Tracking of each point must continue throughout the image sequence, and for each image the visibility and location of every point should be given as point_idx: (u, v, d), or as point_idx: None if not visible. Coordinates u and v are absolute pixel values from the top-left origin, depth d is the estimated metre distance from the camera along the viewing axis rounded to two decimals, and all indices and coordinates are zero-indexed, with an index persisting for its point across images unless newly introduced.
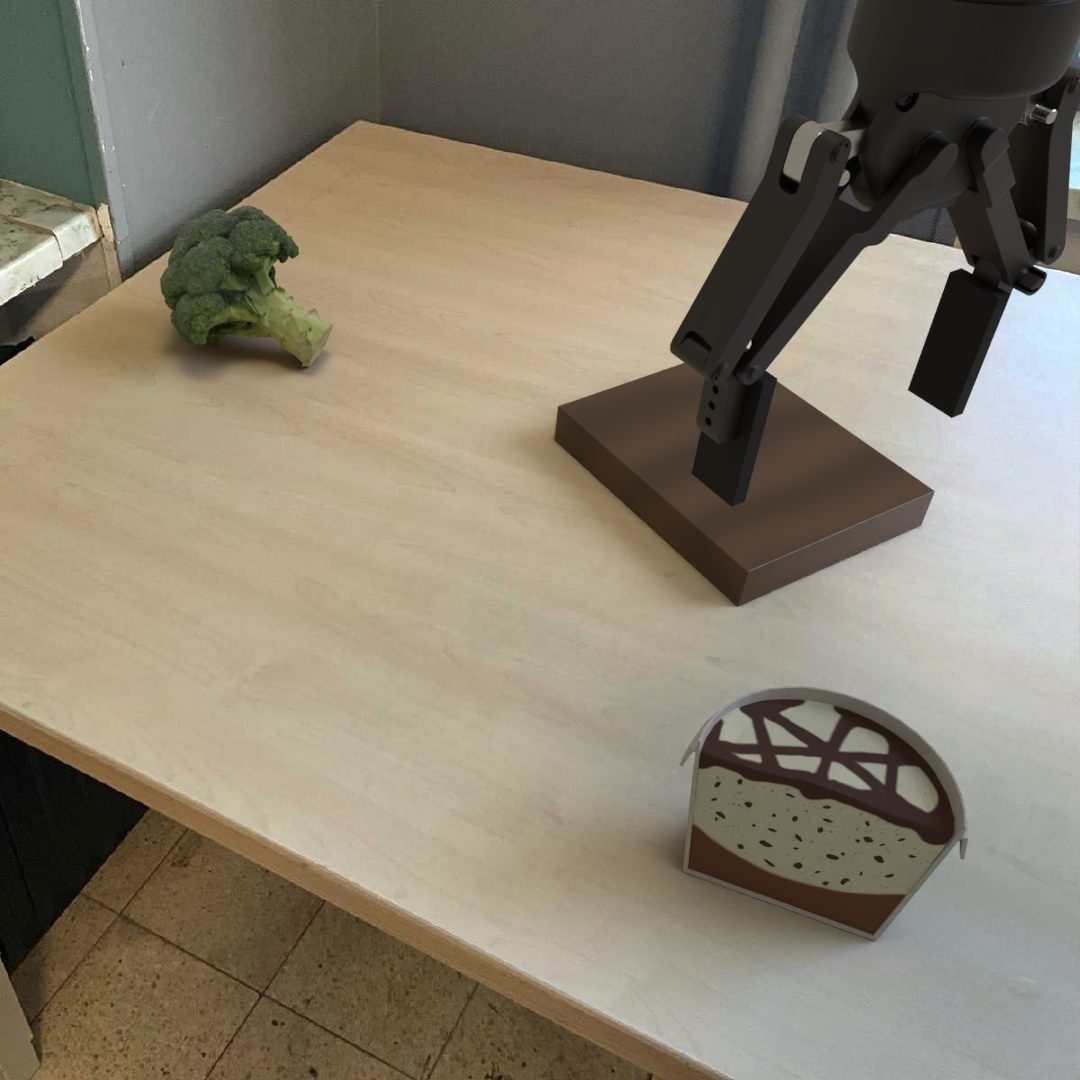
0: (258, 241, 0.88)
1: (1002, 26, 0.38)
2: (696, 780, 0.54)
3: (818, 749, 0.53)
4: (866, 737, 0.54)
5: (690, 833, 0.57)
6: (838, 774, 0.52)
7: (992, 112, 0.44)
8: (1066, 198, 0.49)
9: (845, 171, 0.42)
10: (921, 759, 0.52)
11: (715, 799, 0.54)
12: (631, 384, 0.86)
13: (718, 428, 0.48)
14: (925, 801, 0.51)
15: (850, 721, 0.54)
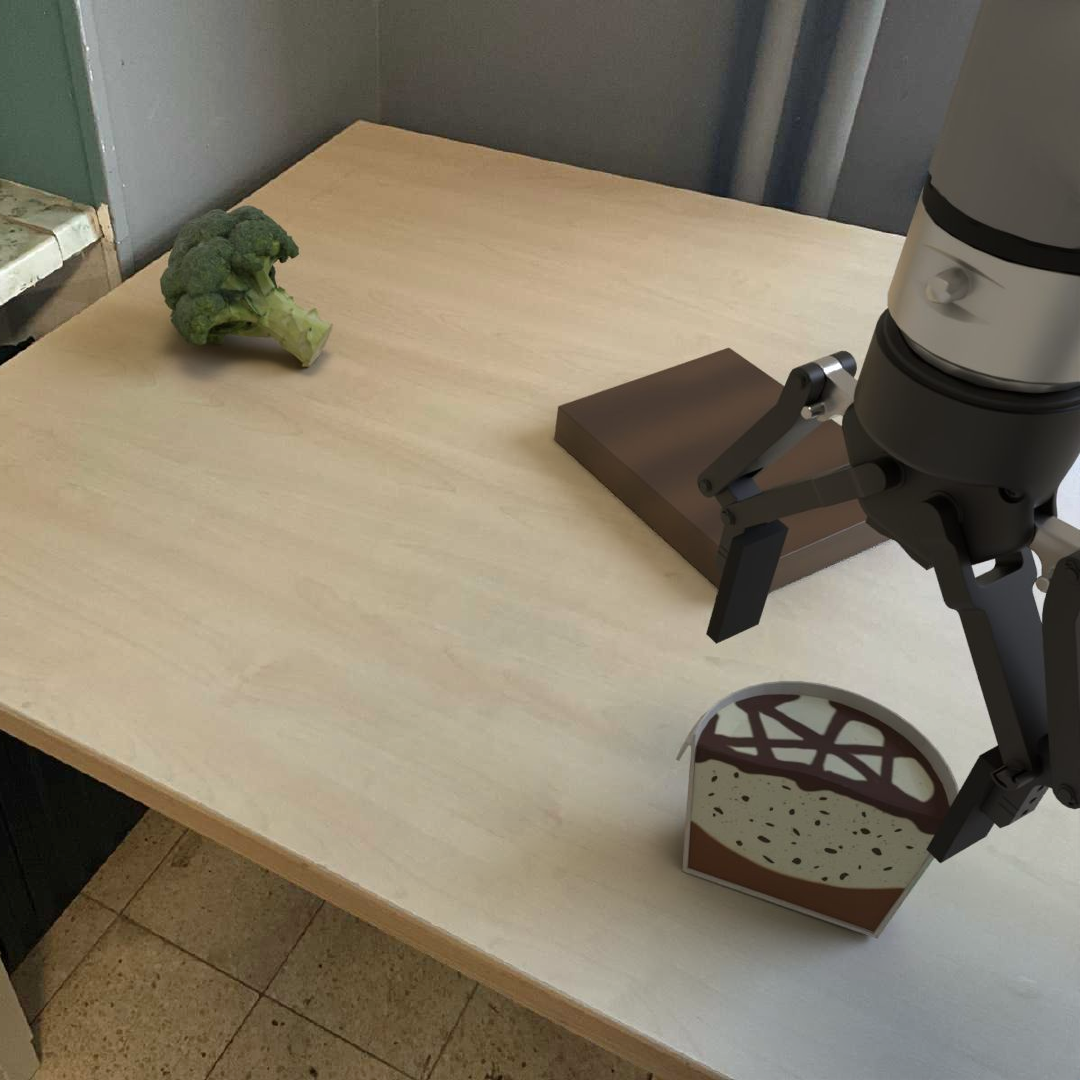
0: (258, 241, 0.88)
1: None
2: (693, 775, 0.55)
3: (814, 741, 0.53)
4: (862, 730, 0.54)
5: (689, 830, 0.57)
6: (834, 766, 0.52)
7: None
8: None
9: None
10: (917, 751, 0.53)
11: (712, 794, 0.55)
12: (631, 384, 0.86)
13: None
14: (921, 791, 0.51)
15: (845, 715, 0.55)
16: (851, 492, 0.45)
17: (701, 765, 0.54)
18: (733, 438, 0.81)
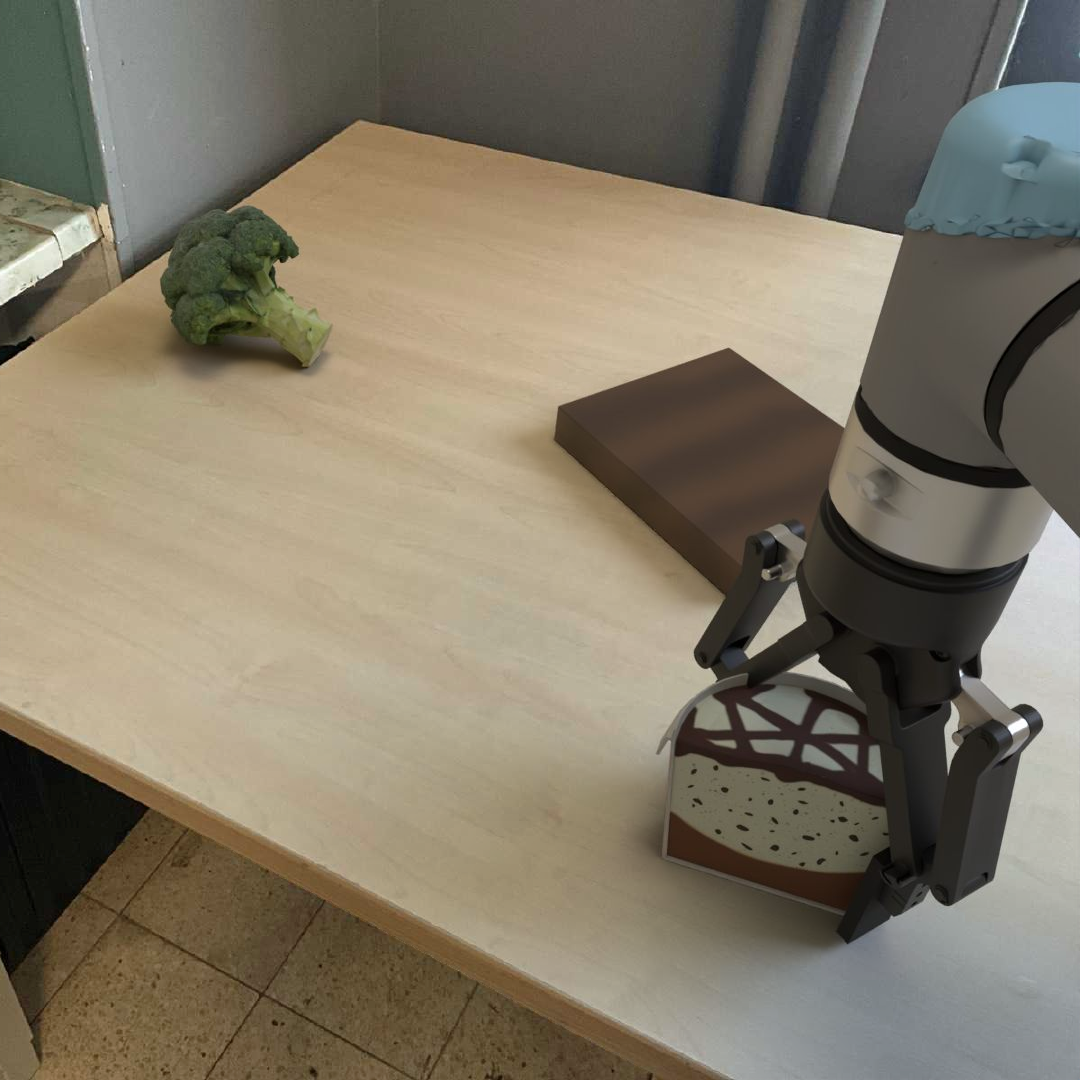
0: (258, 241, 0.88)
1: None
2: (673, 768, 0.55)
3: (791, 732, 0.54)
4: (837, 718, 0.54)
5: (668, 820, 0.57)
6: (811, 757, 0.52)
7: None
8: None
9: None
10: None
11: (691, 786, 0.55)
12: (631, 384, 0.86)
13: (921, 897, 0.52)
14: None
15: (821, 703, 0.55)
16: (810, 645, 0.50)
17: (681, 759, 0.54)
18: (733, 438, 0.81)
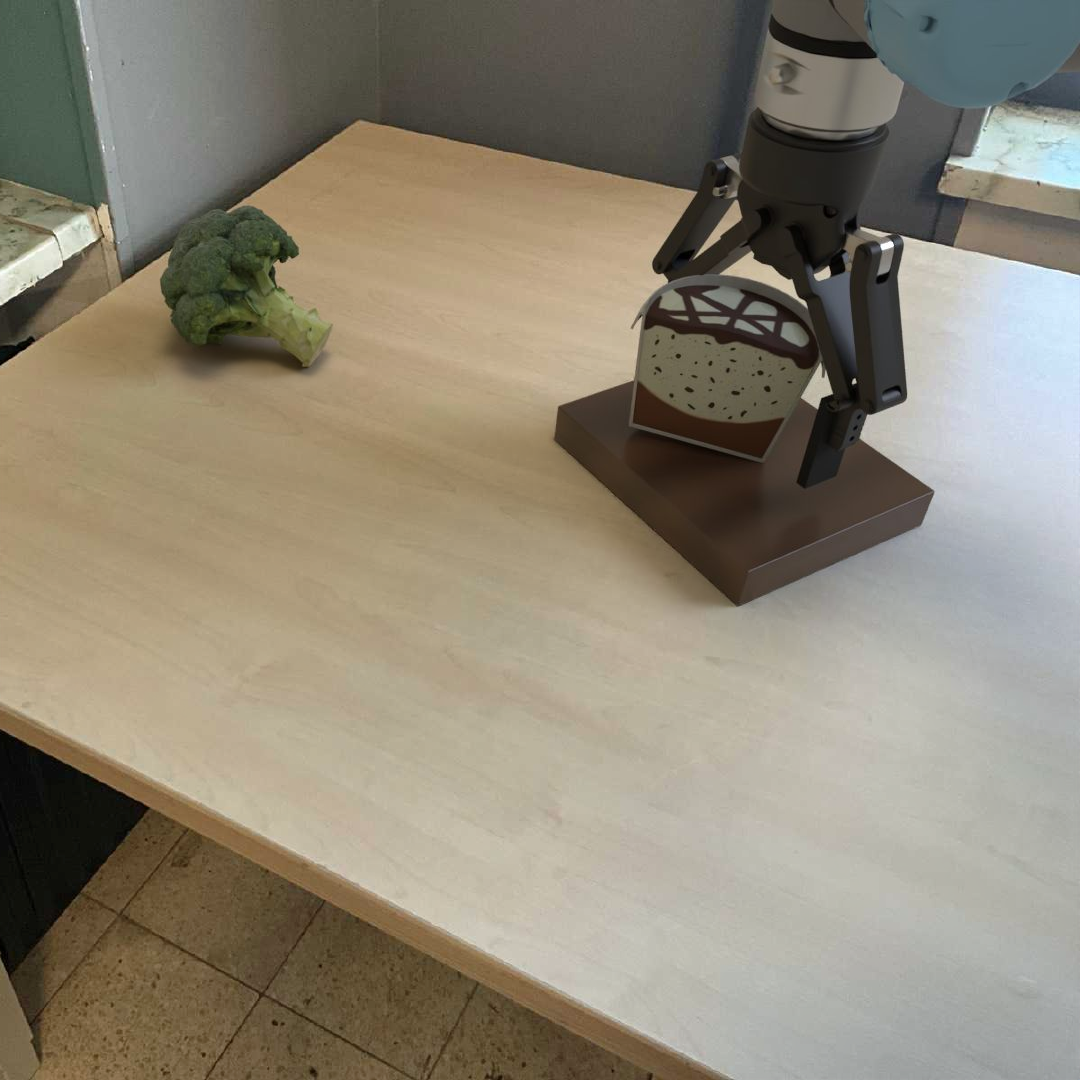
0: (258, 241, 0.88)
1: None
2: (642, 341, 0.76)
3: (728, 313, 0.75)
4: (762, 306, 0.75)
5: (635, 389, 0.78)
6: (741, 325, 0.73)
7: None
8: None
9: None
10: (799, 318, 0.74)
11: (654, 355, 0.76)
12: (631, 384, 0.86)
13: (858, 435, 0.71)
14: (800, 341, 0.73)
15: (751, 298, 0.76)
16: (743, 236, 0.71)
17: (648, 331, 0.75)
18: None
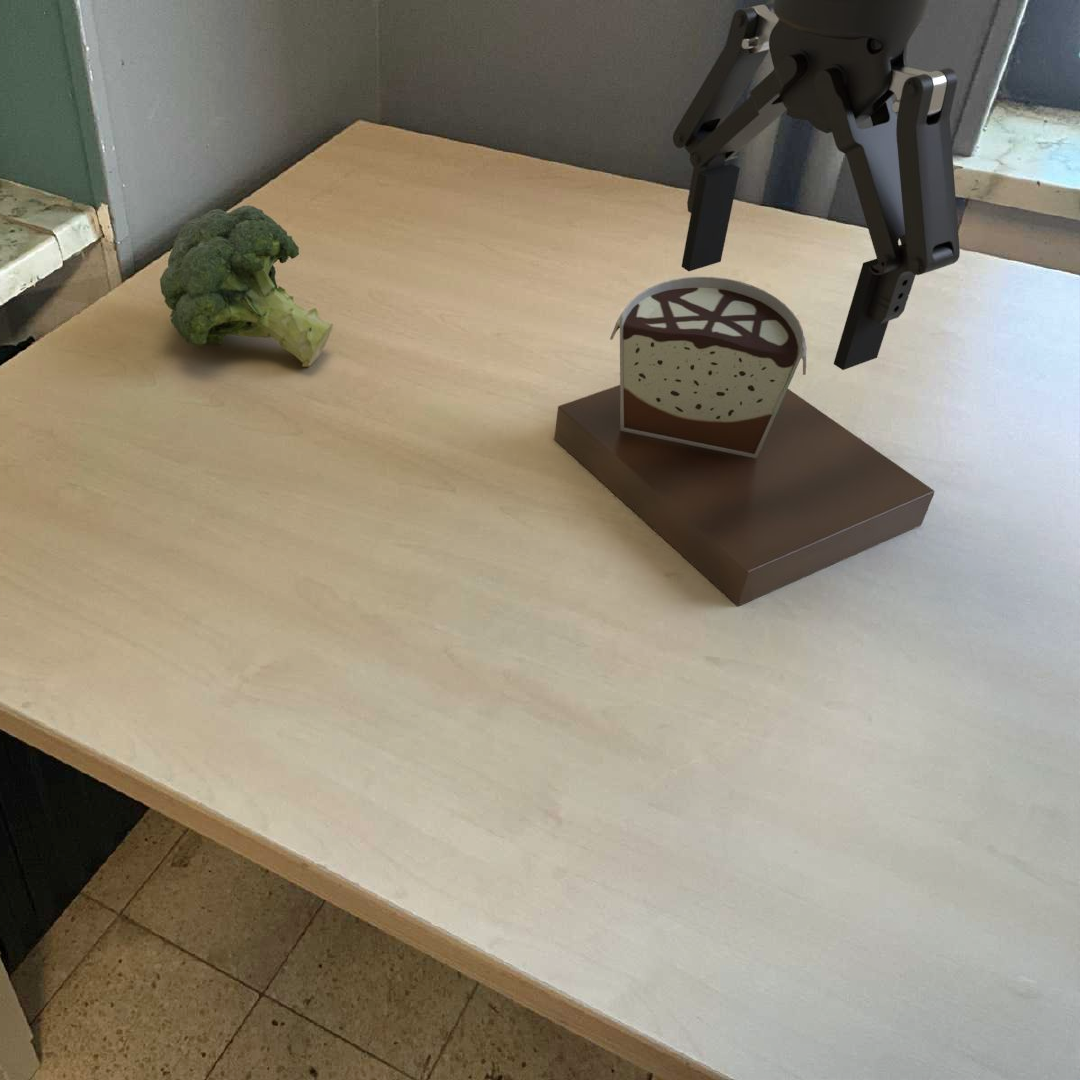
0: (258, 241, 0.88)
1: None
2: (623, 350, 0.76)
3: (706, 316, 0.75)
4: (740, 306, 0.75)
5: (623, 396, 0.79)
6: (719, 328, 0.74)
7: None
8: None
9: None
10: (778, 315, 0.74)
11: (636, 363, 0.77)
12: None
13: (902, 306, 0.64)
14: (779, 339, 0.73)
15: (729, 297, 0.76)
16: (775, 88, 0.65)
17: (628, 341, 0.76)
18: None
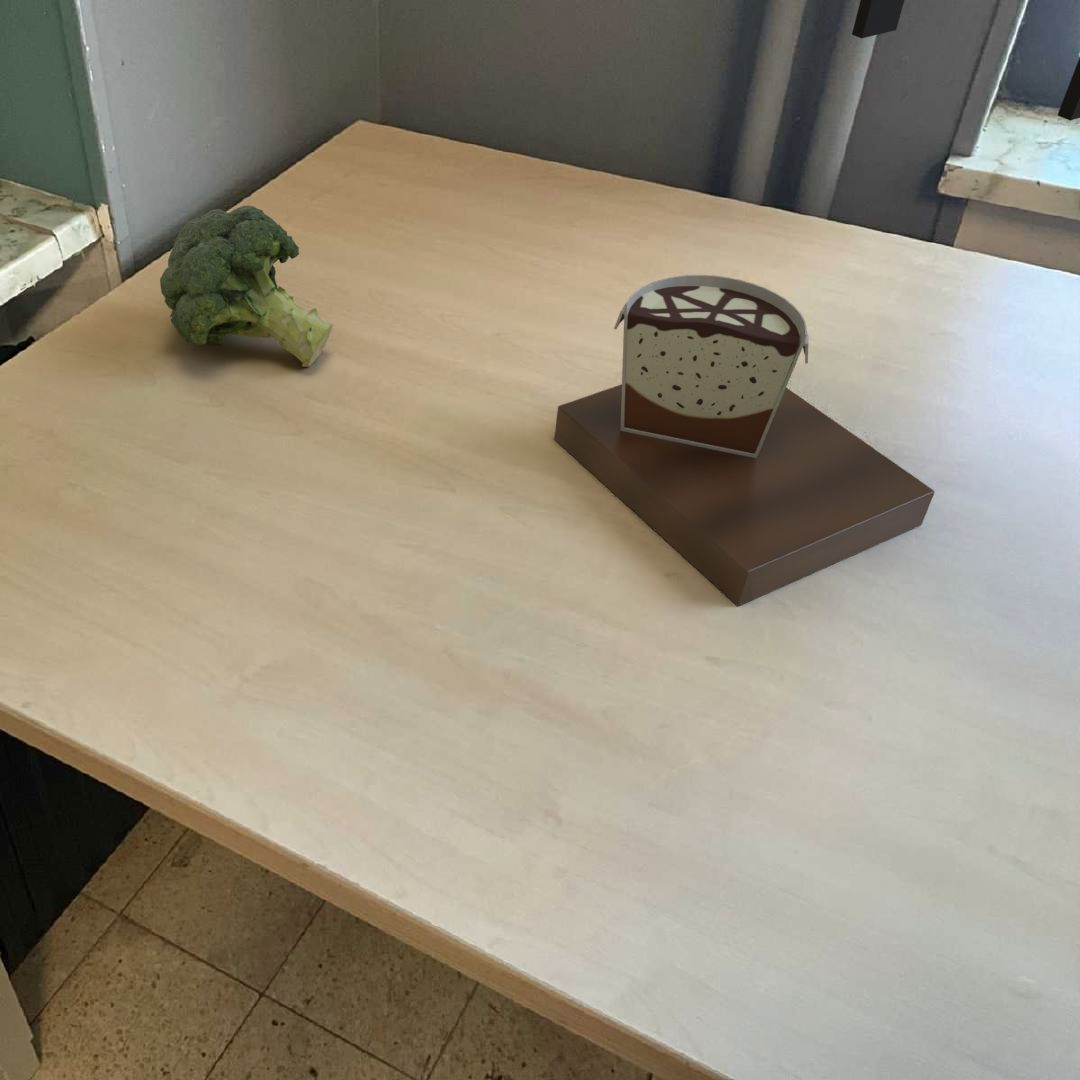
0: (258, 241, 0.88)
1: None
2: (626, 341, 0.77)
3: (709, 309, 0.76)
4: (742, 302, 0.77)
5: (624, 392, 0.80)
6: (722, 318, 0.75)
7: None
8: None
9: None
10: (779, 310, 0.76)
11: (639, 354, 0.77)
12: None
13: None
14: (781, 330, 0.74)
15: (731, 295, 0.77)
16: None
17: (631, 330, 0.76)
18: None
